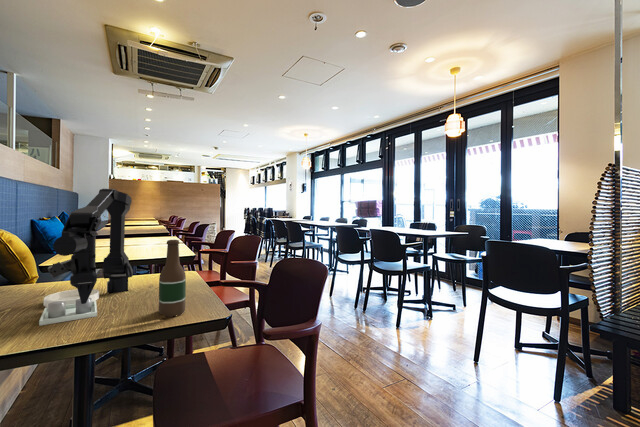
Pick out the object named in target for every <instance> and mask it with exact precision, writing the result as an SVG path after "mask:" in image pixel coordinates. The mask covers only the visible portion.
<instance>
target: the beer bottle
mask: <svg viewBox="0 0 640 427" xmlns="http://www.w3.org/2000/svg"><path fill="white" fill-rule="evenodd" d="M179 244H180V240H179V239H169V240H167V241H166V245H167V246H166V247H167V249H166V258H165V259H166V260H165V265H164V266H163V267H162V269H161V270H160V273H159V276H158V277H159V278H158V279H159V281H158V313H159V314H160V315H162V316H164V317H165V318H174V317H173V316H175V317H177V316H176V315H179V316H181V315H180V314H182V313H183V312H184V311H186V293H187V292H186V288H187V285H186V284H187V282H186V279H187V278H186V271H185V268H184V267H183V266H182V265H181V262H180V250H179ZM184 313H185V312H184ZM184 313H183V314H184ZM183 314H182V315H183Z"/></svg>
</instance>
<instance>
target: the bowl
mask: <svg viewBox="0 0 640 427" xmlns="http://www.w3.org/2000/svg"><path fill="white" fill-rule="evenodd" d="M89 298H92V301H96V302H97V301H98V300H99V299H100V290H98V289H96V288H95V289H94V288H93V290H92V292H91V294H90V296H89ZM77 299H80V296H79V293H78V289H77V288H76V289H69V290H63V291H58V292H55V293H50V294H48V295H46V296H44V297H43V307H45V308H48V304H49V303H51V302H56V301H66V305H69V304H76V300H77Z"/></svg>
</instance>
